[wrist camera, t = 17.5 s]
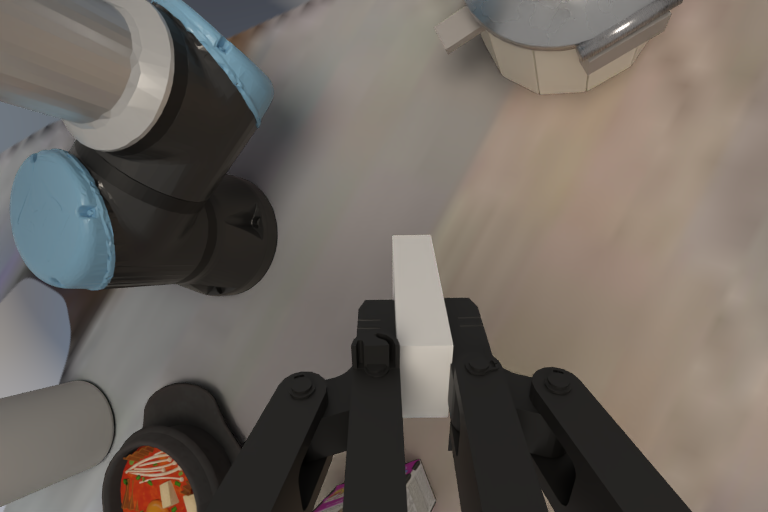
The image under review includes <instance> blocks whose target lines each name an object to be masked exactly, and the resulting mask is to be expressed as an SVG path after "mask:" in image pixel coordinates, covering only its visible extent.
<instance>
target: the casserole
mask: <svg viewBox="0 0 768 512" xmlns="http://www.w3.org/2000/svg"><path fill="white" fill-rule="evenodd" d="M240 450H241V447H240V445H239V444H238V442H237V441H236V439H235V437H234V436H233V434H232V433H231V431H230V430H229V428H228V426H227V425H226V423H225V421H224V419H223V416H222V414H221V412H220V410H219V407H218V405H217V403H216V400H215V398H214V397H213V396H212V395H211V394H210V393H209V392H208V391H207V390H206V389H204V388H202V387H200V386H198V385H194V384H189V383H174V384H171V385H168V386H165V387H163V388H161V389H160V390H158V391H156V392H155V393H154V394H153V395H152V396H151V397H150V398H149V400H148V402H147V404H146V406H145V409H144V421H143V428H142V429H140V430H139V431H137V432H135V433H133V434H132V435H131V436H130V437H129V438H128V439H127V440H126V441H125V443H124V444H123V446H122V447H121V449H120V450H119V451H118V452H117V453H116V454H115V456H114V457H113V459H112V460H111V462H110V463H109V466H108V468H107V470H106V473H105V477H104V482H103V489H102V504H103V512H205V510H206V508H207V507H208V505H209V503H210V501H211V500H212V498H213V496H214V495H215V493H216V491H217V490H218V488H219V486H220V484H221V483H222V481H223V479H224V478H225V476H226V474H227V473H228V471H229V469H230V467H231V466H232V464H233V462H234V461H235V459H236V457H237V456H238V454H239V452H240Z"/></svg>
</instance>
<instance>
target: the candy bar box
mask: <svg viewBox="0 0 768 512" xmlns="http://www.w3.org/2000/svg"><path fill="white" fill-rule="evenodd" d="M405 473H406V491H407V510H408V512H431V511H432V509H433V507H434V505H435V503H436V499H435V496H434V493H433V490H432V488H431V486H430V484H429V482H428V479H427V476H426V474H425V471H424V468H423V466H422V463H421V461H420V459H418V460H415V461H412V462H409V463H406V464H405ZM343 497H344V484H341V485H338V486H336V487H335V489H334V490H333V491H332V492H331V493H330V494H329V495H328V496H327V497H326V498H325V499H324V500H323V501H322V502H321V503H320V504H319V505H318V506H317V507H316V508H315V509H314V510H313V511H312V512H342V511H343Z"/></svg>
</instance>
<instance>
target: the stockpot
mask: <svg viewBox="0 0 768 512" xmlns="http://www.w3.org/2000/svg"><path fill="white" fill-rule="evenodd" d="M670 16H671V12H670V11H668V12H666V13H664V14H663V15H661V16H659V17H658V18H656V19H654V20H653V21H651V22H649V23H648V24H646V25H644V26H642V27H641V28H639V29H637V30H636V31H634V32H632V33H631V34H629V35H627V36H626V37H624V38H622V39H621V40H619V41H617V42H616V43H614V44H612V45H611V46H609V47H607V48H605V49H604V50H602V51H600V52H599V53H597V54H595V55H594V56H592V57H590V58H589V59H587V60H585V61H584V62H582V61H581V60H580V58H579V57H578V55H577V52H576V49H572V50H565V51H547V52H545V51H535V50H528V49H524V48H520V47H516V46H513V45H511V44H508V43H506V42H504V41H502V40H500V39H498V38H496V37H495V36H493V35H492V34H490V33H489V32H488V31H487V30H485V29H484V28H483V27H482V26H481V25H480V24H479V23H478V22H477V21H476V20H475V18H474V17H473V16H472V14H471V13H470V11H469V10H468V8H467V6H466V5H465V6H464V7H462V8H461V9H459V10H458V11H456V12H455V13H453V14H452V15H451V16H449V17H448V18H446V19H445V20H443V21H442V22H440V23H439V24H437V25H436V26H435V27H434V28H435V30H436V32H437V34H438V36H439V38H440V40H441V42H442V43H443V45H444V47H445V49H446V51H447V53H448V54H450V53H451V52H453V51H454V50H456V49H457V48H459V47H461V46H462V45H464V44H465V43H467V42H468V41H470V40H471V39H473V38H474V37H476V36H477V35H479V34H480V33H481V36H482V38H483V41H484V44H485V45H486V47H487V49H488V51H489V53H490V54H491V56H492V58H493V60H494V62H495V63H496V65H497V67H498V69H499V71H500V73H501V74H502V75H503V77H505V78H507V79H509V80H511V81H513V82H515V83H517V84H519V85H521V86H523V87H525V88H527V89H529V90H531V91H533V92H535V93H537V94H539V93H540V95H545V94H562V93H579V92H585V89H586V91H589V90H591V89H592V88H594V87H596V86H598V85H599V84H601V83H603V82H605V81H606V80H608V79H610V78H612V77H613V76H615V75H617V74H619V73H620V72H622V71H624V70H626V69H627V68H629V67H630V65H632V64H633V62H634V61H635V59H636V58H637V57H638V55H639V54H640V52H641V51H642V49H643V48H644V46H645V45H646V43H647V42H648V40H650V39H651V38H653V37H655V36H656V35H658V34H660V33H662V32H663V31H664V30H665V28H666V26H667V23H668V21H669V19H670Z"/></svg>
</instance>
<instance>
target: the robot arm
mask: <svg viewBox="0 0 768 512" xmlns="http://www.w3.org/2000/svg"><path fill="white" fill-rule="evenodd" d="M273 96H274V89H273V85H272V83H271V81H270V79H269V78H268V77H267V76H266V75H265V74H264V73H263V72H262V71H261V70H260V69H259V68H258V67H257V66H256V65H255V64H254V63H253V62H252V61H251V60H250V59H249V58H248V57H246V56H245V55H244V54H243V53H242V52H241V51H240V50H239V49H237V48H236V47H235V46H234V45H233V44H232V43H230V42H229V41H228V40H226V38H225V37H224V36H222V35H221V34H220V33H219V32H218V31H217V30H216V29H215V28H214V27H213V26H212V25H210V24H209V23H208V22H207V21H206V20H205V19H204V18H202V17H201V16H200V15H199V14H198V13H197V12H196V11H194V10H193V9H192V8H190V6H188V5H187V4H186V3H185V2H184V1H182V0H152V2H151V3H150V2H148V1H146V0H0V101H1V102H4V103H8V104H11V105H14V106H18V107H22V108H25V109H28V110H32V111H35V112H39V113H42V114H46V115H49V116H53V117H56V118H60V119H62V120H63V122H64V124H65V126H66V127H67V129H68V130H69V132H70V133H71V134H72V135H73V137H74V138H75V139H76V141H75V142H74V144H73V146H72V148H71V149H70V151H69V152H68V151H65V150H62V149H51V150H42V151H40V152H38V153H35V154H32V155H31V156H29V157H28V158H27V159H26V160H25V161H24V162H23V164H22V165H21V167H20V168H19V170H18V172H17V174H16V176H15V179H14V182H13V186H12V190H11V197H10V221H11V225H12V232H13V237H14V240H15V244H16V246H17V249H18V251H19V253H20V255H21V257H22V259H23V260H24V262H25V264H26V265H27V266H28V268H29V269H30V270H31V271H32V272H33V273H34V274H35V275H36V276H37V277H38V278H39V279H41V280H42V281H44V282H46V283H48V284H50V285H52V286H55V287H60V288H80V289H89V290H100V289H112V288H126V287H139V286H153V285H166V284H178V285H180V286H183V287H186V288H188V289H191V290H194V291H196V292H199V293H202V294H205V295H210V296H227V295H235V294H239V293H242V292H244V291H246V290H248V289H250V288H251V287H253V286H254V285H255V284H256V283H257V282H258V281H259V280H260V279H261V278H262V277H263V276H264V274H265V273H266V271H267V270H268V268H269V266H270V264H271V262H272V259H273V257H274V253H275V249H276V243H277V225H276V219H275V215H274V212H273V209H272V207H271V205H270V203H269V201H268V199H267V198H266V196H265V195H264V193H263V192H262V191H261V190H260V189H259V188H258V187H257V186H256V185H254V184H253V183H251V182H250V181H248V180H245V179H243V178H240V177H236V176H232V175H228V174H226V173H227V171H228V170H229V168H230V167H231V166H232V164H233V163H234V161H235V160H236V158H237V157H238V155H239V154H240V153H241V151H242V150H243V148H244V147H245V145H246V144H247V142H248V141H249V139H250V138H251V137H252V135H253V134H254V132H255V131H256V129H257V128H259V126H260V125H261V119H262V117H263V116H264V114H265V112H266V110H267V109H268V107H269V105H270V103H271V102H272V99H273ZM392 295H393V300H365V301H364V303H363V304H362V305H361V307H360V308H359V312H358V326H357V337H356V338H355V339H354V340H353V343H352V345H351V351H352V367H351V368H350V369H349V370H348V371H347V372H346V373H344V374H342V375H341V376H338V377H335V378H332V379H328V380H325V379H324V378H322V377H321V376H320V375H319V374H316V373H313V372H299V373H295V374H292V375H290V376H288V377H287V378H285V379H284V380H283V381H282V382H281V383H280V384H279V386H278V388H277V389H276V391H275V393H274V394H273V396H272V398H271V399H270V401H269V403H268V405H267V406H266V408H265V410H264V411H263V413H262V415H261V416H260V418H259V420H258V422H257V423H256V425H255V427H254V428H253V430H252V432H251V433H250V435H249V437H248V439H247V440H246V442H245V444H244V445H243V447H242V449H241V450H240V452H239V454H238V456H237V457H236V459H235V461H234V462H233V464H232V466H231V467H230V469H229V471H228V473H227V474H226V476H225V478H224V479H223V481H222V483H221V484H220V486H219V488H218V490H217V491H216V493H215V495H214V496H213V498H212V500H211V501H210V503H209V505H208V507H207V508H206V510H205V512H312V511H313V508H314V505H315V503H316V500H317V497H318V495H319V492H320V490H321V487H322V484H323V482H324V479H325V477H326V474H327V471H328V469H329V466H330V463H331V461H332V457H333V455H334V454H337V453H341V452H344V451H347V455H346V469H345V483H344V497H343V511H342V512H408V510H407V491H406V473H405V454H404V436H403V418H440V417H448V409H449V412H450V418H451V422H450V434H449V446H448V451H453V458H454V465H455V471H456V478H457V484H458V491H459V498H460V504H461V511H462V512H548V509H547V506H546V503H545V500H544V496H543V493H542V491H543V492H544V494H545V496H546V497H547V499H548V501H549V503H550V504H551V506H552V508H553V509H554V511H555V512H692V511H691V510H690V509H689V508H688V506H687V505H686V504H685V503H684V502H683V501H682V499H681V498H680V497H679V496H678V495H677V494H676V492H675V491H674V490H673V489H672V488H671V487H670V485H669V484H668V483H667V482H666V481H665V479H664V478H663V477H662V476H661V475H660V474H659V472H658V471H657V470H656V469H655V468H654V467H653V465H652V464H651V463H650V462H649V461H648V460H647V458H646V457H645V456H644V455H643V454H642V452H641V451H640V450H639V449H638V448H637V447H636V445H635V444H634V443H633V442H632V441H631V440H630V438H629V437H628V436H627V435H626V434H625V432H624V431H623V430H622V429H621V428H620V427H619V425H618V424H617V423H616V422H615V421H614V420H613V418H612V417H611V416H610V415H609V414H608V413H607V411H606V410H605V409H604V408H603V407H602V405H601V404H600V403H599V402H598V401H597V400H596V398H595V397H594V396H593V395H592V394H591V393H590V391H589V390H588V389H587V388H586V387H585V386H584V384H583V383H582V382H581V381H580V380H579V379H578V378H577V377H576V376H575V375H573V374H572V373H570V372H568V371H566V370H564V369H560V368H555V367H546V368H542V369H540V370H537V371H536V372H535V373H534V375H533V377H528V376H523V375H519V374H515V373H512V372H510V371H508V370H506V369H504V368H502V366H501V364H500V362H499V361H498V360H497V359H496V358H494V357H493V356H492V353H491V349H490V346H489V343H488V340H487V336H486V333H485V330H484V327H483V323H482V320H481V318H480V313H479V310H478V307H477V306H476V305H475V304H474V303H473V302H472V301H471V300H470V299H469V298H444V297H443V292H442V287H441V282H440V277H439V273H438V268H437V263H436V258H435V253H434V248H433V243H432V238H431V235H392ZM541 489H542V490H541Z"/></svg>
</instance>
